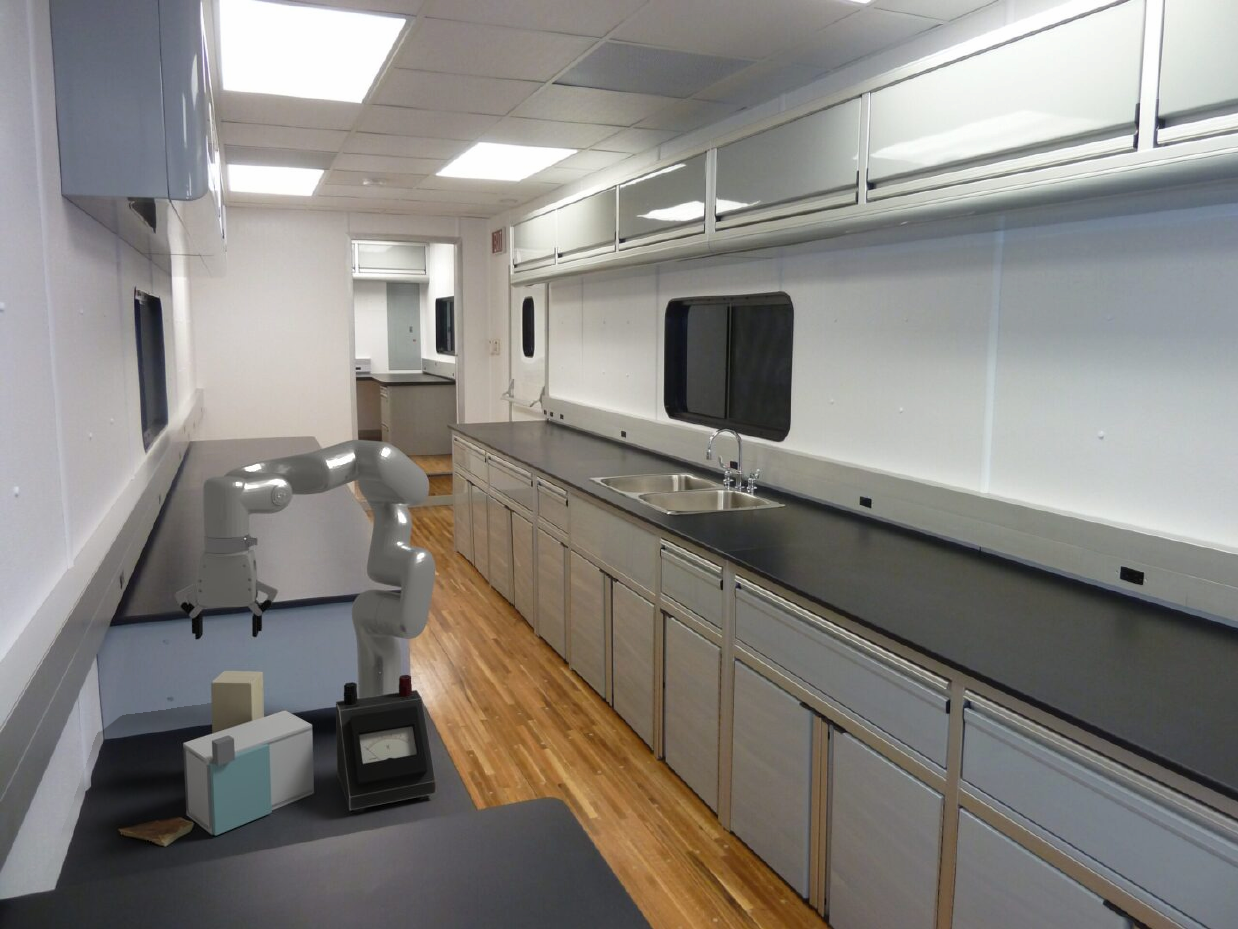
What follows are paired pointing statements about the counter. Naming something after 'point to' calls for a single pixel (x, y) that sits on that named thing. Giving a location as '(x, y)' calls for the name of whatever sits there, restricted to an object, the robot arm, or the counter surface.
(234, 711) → the beige tall block
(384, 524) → the robot arm
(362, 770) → the voltmeter
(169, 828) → the shard
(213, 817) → the sliding door
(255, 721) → the storage cabinet
